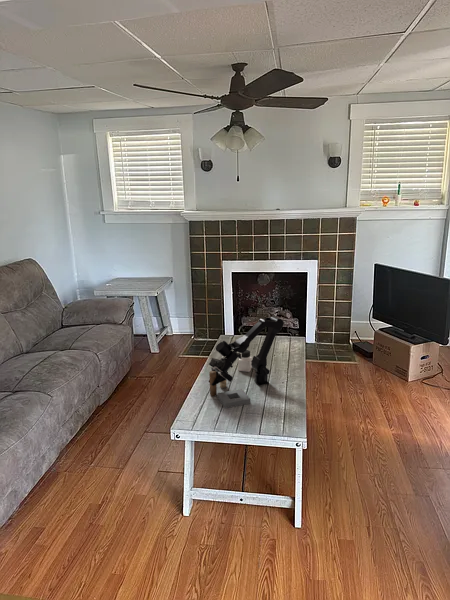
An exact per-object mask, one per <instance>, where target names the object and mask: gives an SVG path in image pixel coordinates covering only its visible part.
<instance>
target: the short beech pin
mask: <svg viewBox="0 0 450 600" xmlns="http://www.w3.org/2000/svg"><path fill="white" fill-rule="evenodd" d="M219 388H222V389H225V388H227V379H226V380H224V381H222V382H220V383H219Z"/></svg>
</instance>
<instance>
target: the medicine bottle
mask: <svg viewBox="0 0 450 600" xmlns="http://www.w3.org/2000/svg"><path fill="white" fill-rule="evenodd" d="M240 354H241V359H240V358H238V360H237V363H238V364H237V366H238V368H237V369H238V370H237V371H238V372H247V373H250V372H251V370H252V369H253V368H252V366H251V363H252V362H251V361H252V360H253V356H251V351H250V350H249V349H247V350H246V351H245V352H244V353H240Z"/></svg>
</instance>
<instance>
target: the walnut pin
mask: <svg viewBox="0 0 450 600" xmlns="http://www.w3.org/2000/svg"><path fill="white" fill-rule="evenodd" d="M215 378H216V371H212V370H210V371H209V379H210V383H209V396H210V397H215V396H217V393H218V392H217V390H218V389H217V388H218V387H217V386H218V385H217V384H216V385H214V386H213V385H212V383H213V381H214V380H215Z"/></svg>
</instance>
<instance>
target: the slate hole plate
mask: <svg viewBox="0 0 450 600" xmlns="http://www.w3.org/2000/svg"><path fill="white" fill-rule="evenodd" d="M216 396H217V399H218V401H219V402H220V404H221V405H222V407H223V408H224V409H227V408H232V407H239V406H244V405H249V404H251V398H250V397H249V395H248V394H247V392H245V391H244V390H243V388H239V389H234V390H228V391H227V390H226V391H221V392H217V395H216Z"/></svg>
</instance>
